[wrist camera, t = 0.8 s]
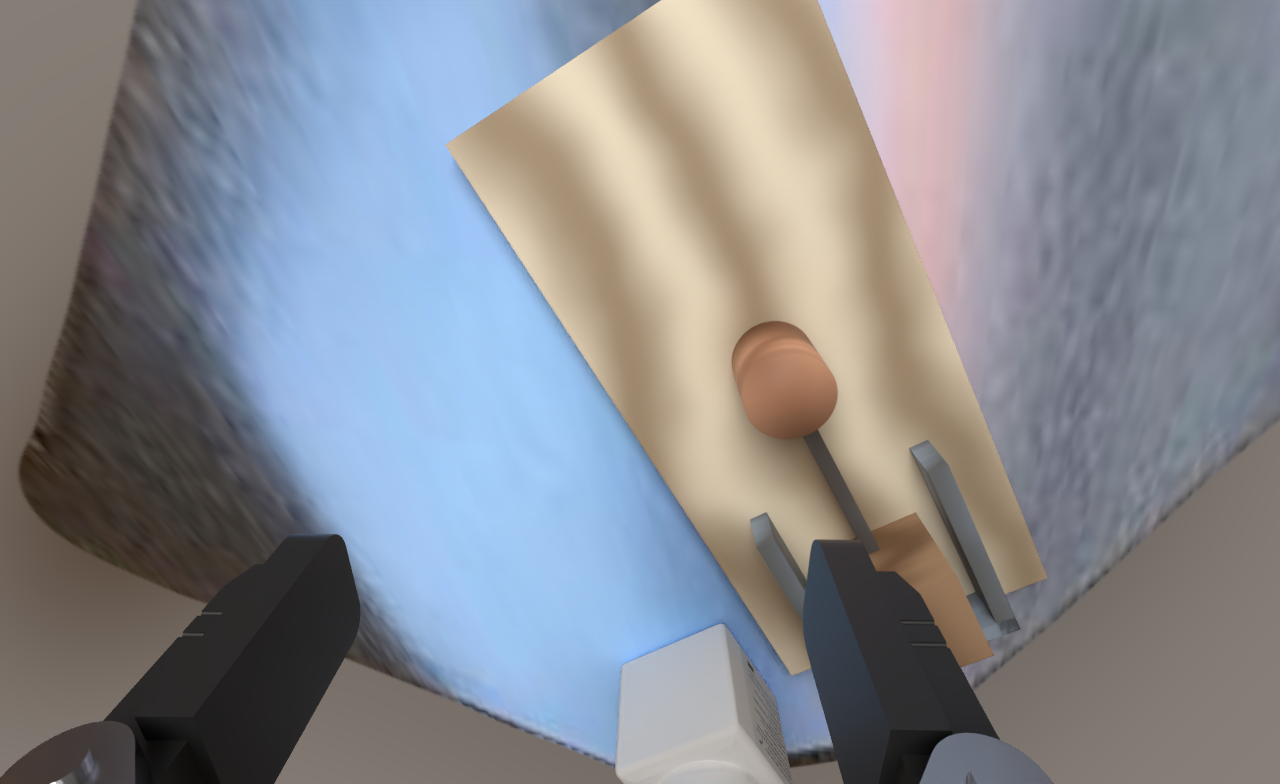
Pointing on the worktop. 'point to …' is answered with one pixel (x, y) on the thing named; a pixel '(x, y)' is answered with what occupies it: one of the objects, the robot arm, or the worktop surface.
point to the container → (698, 716)
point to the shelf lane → (750, 292)
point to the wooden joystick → (797, 407)
